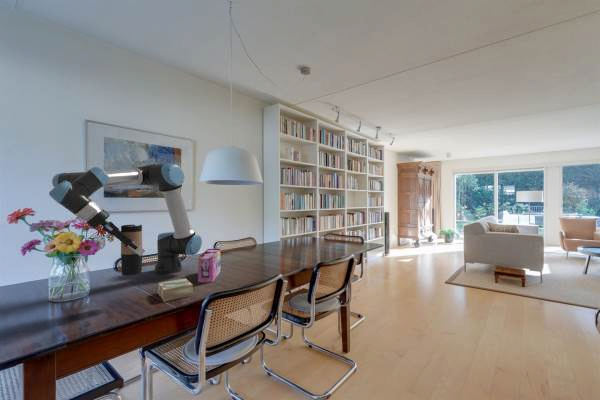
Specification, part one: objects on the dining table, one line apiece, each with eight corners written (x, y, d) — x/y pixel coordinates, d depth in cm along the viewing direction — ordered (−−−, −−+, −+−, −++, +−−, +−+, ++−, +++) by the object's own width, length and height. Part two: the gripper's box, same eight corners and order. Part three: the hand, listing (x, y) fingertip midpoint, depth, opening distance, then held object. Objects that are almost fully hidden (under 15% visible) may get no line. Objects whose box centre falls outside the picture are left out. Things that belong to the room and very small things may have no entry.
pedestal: (158, 293, 128) (158, 282, 128) (185, 288, 136) (185, 277, 136) (163, 301, 119) (163, 289, 119) (192, 295, 126) (192, 284, 126)
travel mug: (122, 276, 111) (122, 226, 111) (119, 272, 117) (119, 225, 117) (144, 273, 116) (144, 225, 116) (140, 269, 122) (139, 224, 122)
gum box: (212, 283, 144) (212, 257, 144) (196, 283, 144) (196, 257, 143) (220, 270, 168) (220, 248, 168) (207, 271, 167) (207, 248, 167)
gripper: (85, 220, 115) (131, 254, 125) (84, 224, 99) (137, 263, 109) (100, 207, 118) (144, 241, 128) (103, 209, 102) (152, 248, 112)
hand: (141, 251), depth 119 cm, fingers closed on travel mug, 7 cm apart
